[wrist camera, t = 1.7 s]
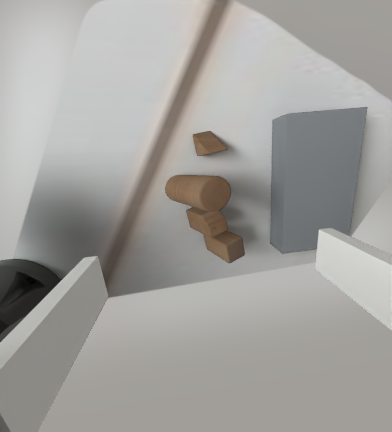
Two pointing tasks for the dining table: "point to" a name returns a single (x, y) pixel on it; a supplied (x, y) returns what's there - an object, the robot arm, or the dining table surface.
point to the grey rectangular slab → (314, 175)
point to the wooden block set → (207, 202)
